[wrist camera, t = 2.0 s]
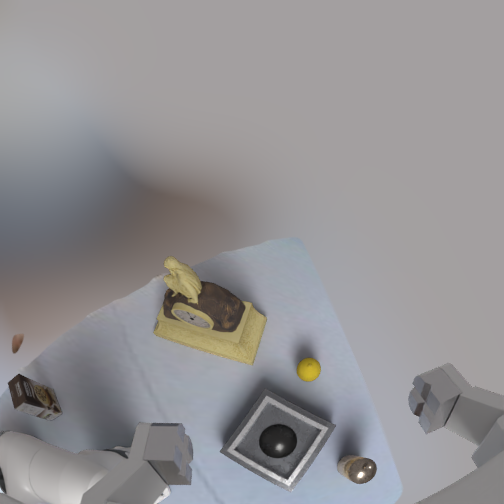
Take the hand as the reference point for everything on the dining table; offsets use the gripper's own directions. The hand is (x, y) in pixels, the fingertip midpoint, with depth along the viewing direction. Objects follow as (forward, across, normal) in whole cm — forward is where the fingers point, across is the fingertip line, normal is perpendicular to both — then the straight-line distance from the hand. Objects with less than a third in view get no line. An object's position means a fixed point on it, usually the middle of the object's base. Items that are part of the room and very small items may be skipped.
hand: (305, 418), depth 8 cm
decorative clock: (+60, -13, -34) cm, 70 cm away
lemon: (+46, +10, -42) cm, 63 cm away
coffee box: (+43, -67, -48) cm, 93 cm away
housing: (+33, 0, -51) cm, 61 cm away
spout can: (+24, +15, -57) cm, 63 cm away
